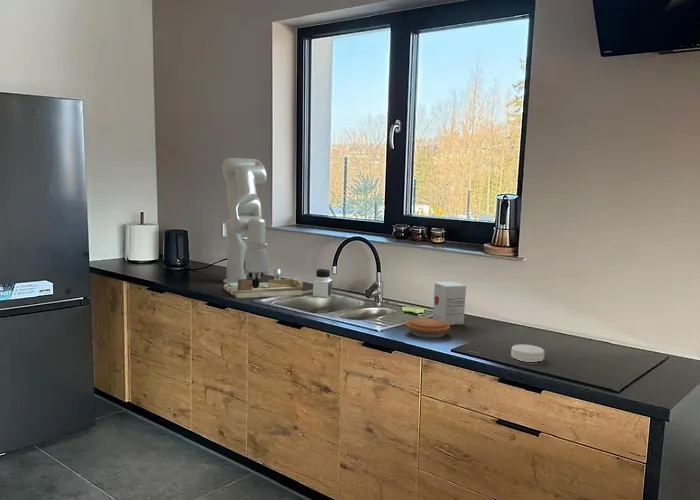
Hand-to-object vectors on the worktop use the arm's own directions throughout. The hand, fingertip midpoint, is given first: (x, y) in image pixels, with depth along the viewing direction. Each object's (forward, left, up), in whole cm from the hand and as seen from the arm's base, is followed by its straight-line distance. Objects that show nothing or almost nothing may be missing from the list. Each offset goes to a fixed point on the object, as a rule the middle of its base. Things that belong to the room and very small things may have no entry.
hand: (255, 287), depth 274 cm
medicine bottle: (+9, +29, -4) cm, 30 cm away
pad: (-12, -4, -1) cm, 13 cm away
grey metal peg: (-12, +15, -1) cm, 19 cm away
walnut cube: (+1, -5, -1) cm, 5 cm away
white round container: (+117, +51, -4) cm, 127 cm away
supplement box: (+69, +55, -4) cm, 88 cm away
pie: (+82, +37, -4) cm, 90 cm away
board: (-6, +6, -3) cm, 9 cm away
